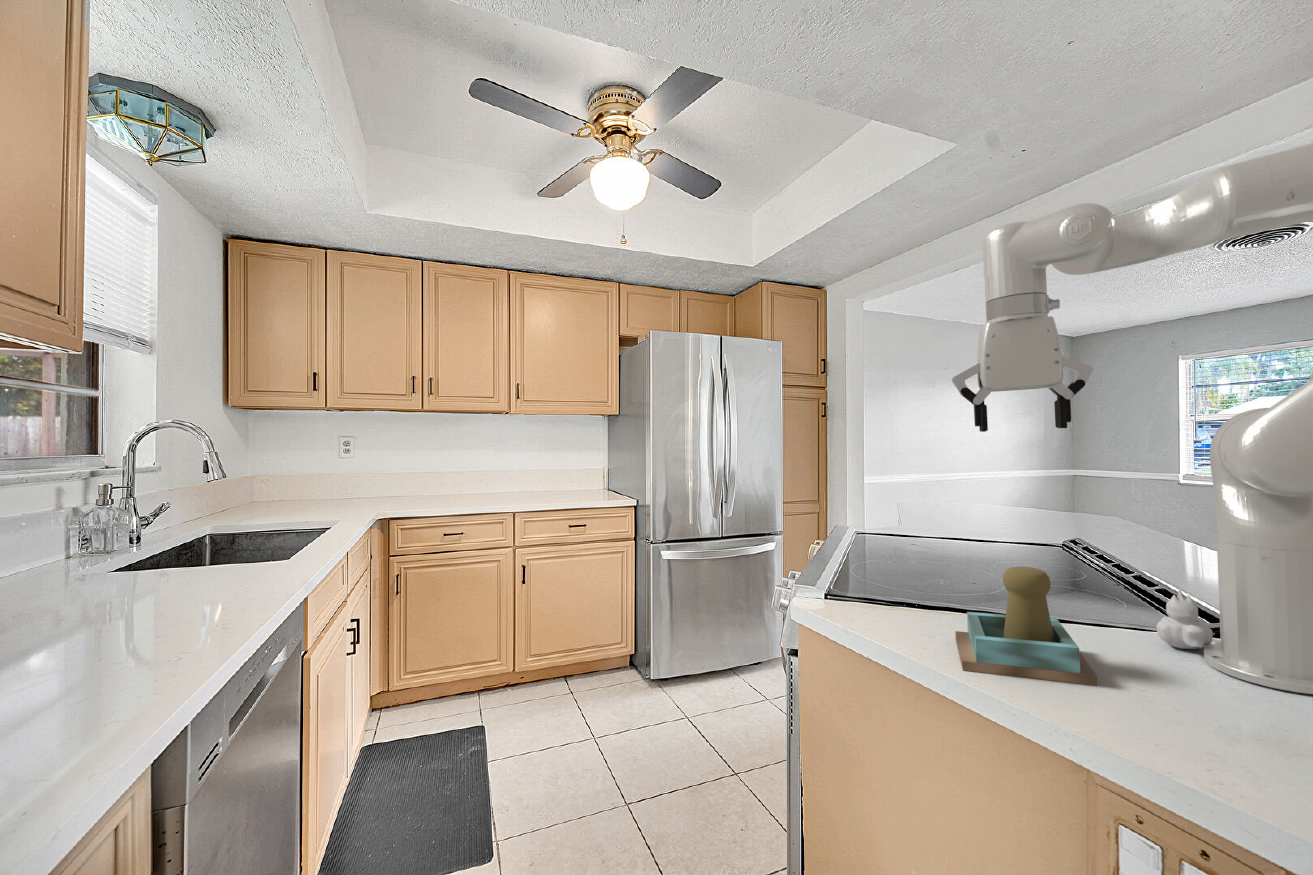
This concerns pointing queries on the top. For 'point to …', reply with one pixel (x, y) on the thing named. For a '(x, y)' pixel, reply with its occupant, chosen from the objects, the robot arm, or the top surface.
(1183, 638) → the rubber duck
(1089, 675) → the board
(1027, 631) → the cork
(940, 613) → the top surface
